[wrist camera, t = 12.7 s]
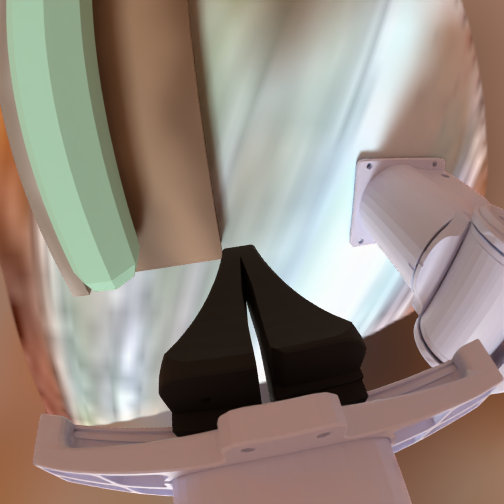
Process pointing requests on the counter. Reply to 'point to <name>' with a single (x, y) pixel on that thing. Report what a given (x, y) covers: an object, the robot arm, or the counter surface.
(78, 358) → the counter surface
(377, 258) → the counter surface
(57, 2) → the container
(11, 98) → the shelf
